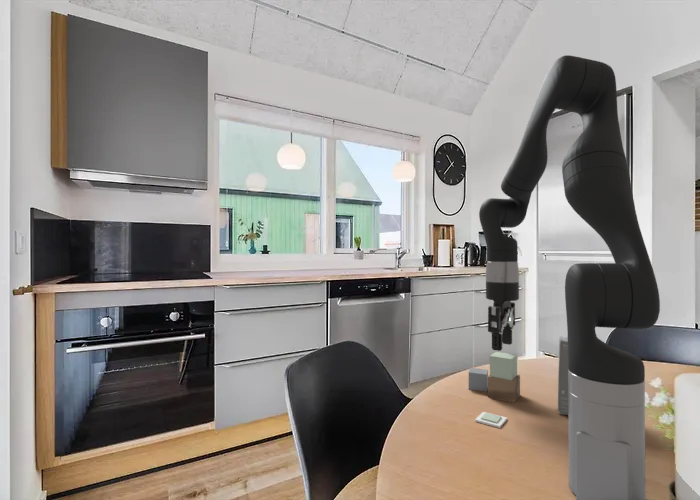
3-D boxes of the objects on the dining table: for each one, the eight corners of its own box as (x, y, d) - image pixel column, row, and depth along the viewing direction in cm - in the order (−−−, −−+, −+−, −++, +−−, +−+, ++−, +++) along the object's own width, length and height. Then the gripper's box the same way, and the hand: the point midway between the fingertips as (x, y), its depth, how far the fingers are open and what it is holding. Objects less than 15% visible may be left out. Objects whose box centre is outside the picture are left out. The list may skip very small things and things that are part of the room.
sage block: (511, 380, 91) (511, 359, 91) (489, 376, 94) (489, 355, 94) (517, 375, 95) (517, 354, 95) (496, 371, 98) (496, 351, 98)
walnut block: (514, 403, 90) (514, 381, 90) (487, 397, 94) (487, 376, 94) (520, 395, 95) (520, 374, 95) (494, 390, 99) (494, 370, 99)
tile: (499, 428, 77) (499, 424, 77) (475, 421, 80) (475, 418, 80) (507, 419, 81) (507, 416, 81) (483, 413, 84) (483, 410, 84)
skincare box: (558, 414, 83) (557, 341, 84) (557, 403, 90) (557, 334, 90) (604, 422, 80) (604, 345, 80) (601, 410, 86) (600, 338, 86)
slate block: (486, 392, 97) (486, 374, 97) (468, 389, 99) (468, 372, 99) (488, 386, 101) (488, 369, 101) (470, 384, 103) (470, 367, 103)
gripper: (510, 282, 87) (510, 355, 86) (525, 279, 98) (525, 344, 98) (476, 280, 91) (477, 350, 91) (495, 278, 103) (495, 340, 102)
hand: (502, 346), depth 94 cm, fingers open, 8 cm apart
